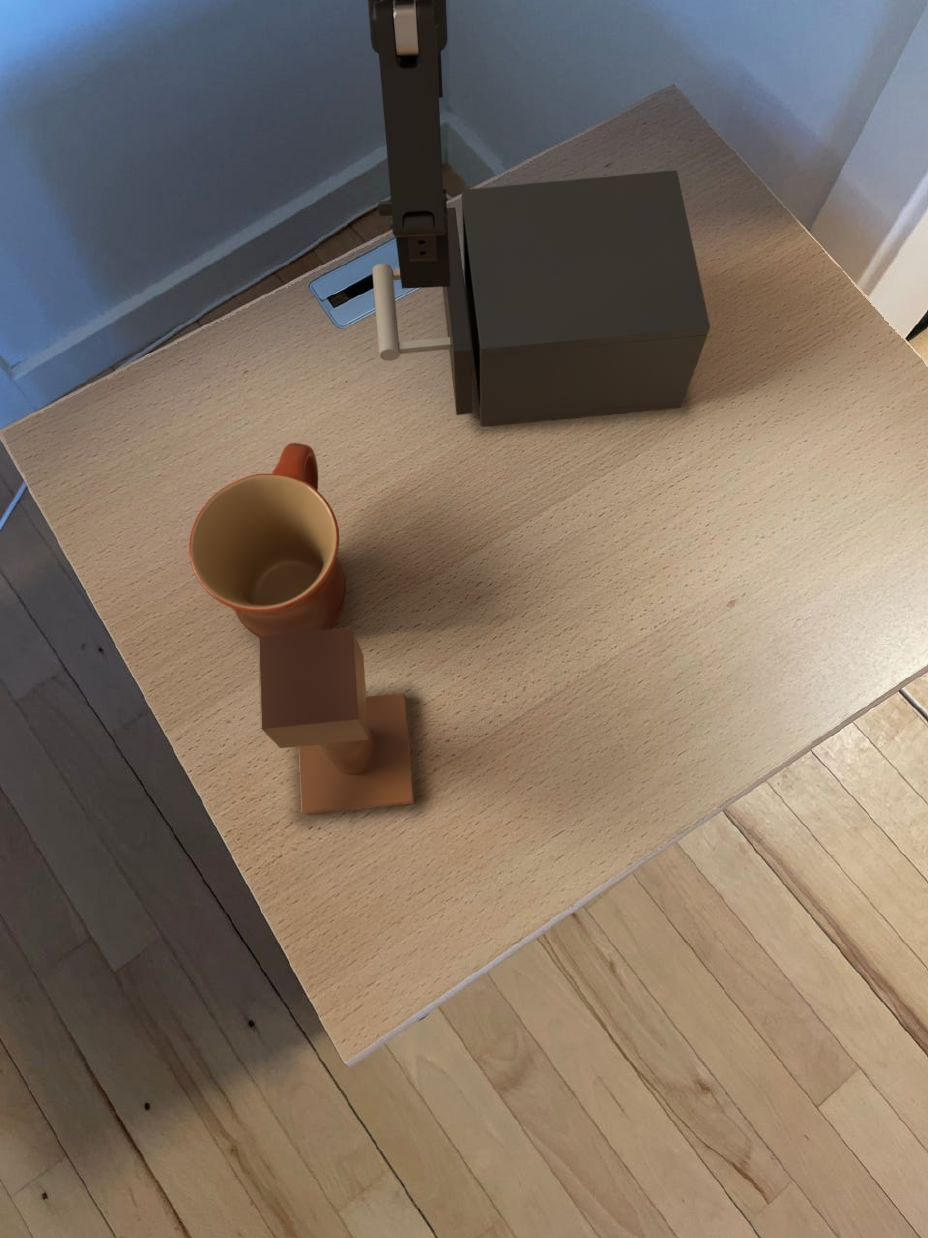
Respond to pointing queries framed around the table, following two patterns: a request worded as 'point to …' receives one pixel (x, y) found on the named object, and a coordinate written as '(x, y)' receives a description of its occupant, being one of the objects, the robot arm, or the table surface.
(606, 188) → the cabinet
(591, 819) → the table surface
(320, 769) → the post
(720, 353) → the table surface
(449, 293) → the drawer
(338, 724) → the block
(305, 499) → the mug
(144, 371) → the table surface
